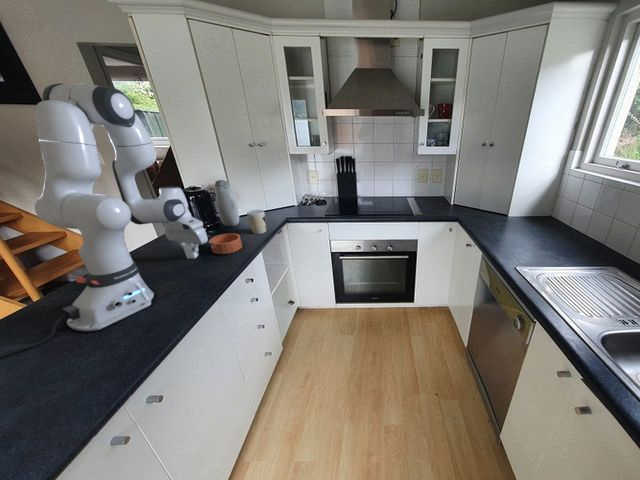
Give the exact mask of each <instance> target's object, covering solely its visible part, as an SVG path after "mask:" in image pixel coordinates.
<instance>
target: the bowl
mask: <svg viewBox="0 0 640 480" xmlns="http://www.w3.org/2000/svg"><path fill="white" fill-rule="evenodd" d="M208 242H209V246H210V249H211V252H212V253H213V254H217V255H227V254H228V255H229V254H232V253H236V252H238V251H239V250H241V249H242V248H243V241H242V238H241V235H240V234H238V233H232V232H231V233H229V232H228V233H221V234H218V235H215V236H212V237H211V238H210V239H208Z"/></svg>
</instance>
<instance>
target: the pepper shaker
mask: <svg viewBox="0 0 640 480" xmlns="http://www.w3.org/2000/svg"><path fill="white" fill-rule="evenodd" d="M184 244H185V246H184V247H183V248H184V250H183V251H184V254H185V256H186V259H188V260H190V259H192V260H193V259H196V258H198V256H199V251H197V252H195V251H193V249H192V248H194V245H193V244H192V243H186V242H184Z"/></svg>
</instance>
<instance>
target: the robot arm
mask: <svg viewBox="0 0 640 480" xmlns="http://www.w3.org/2000/svg"><path fill="white" fill-rule="evenodd" d="M41 96H42V97H41V98H42V101H40V102H37V104H36V106H35V112H34V113H35V114H34V115H35V116H34V117H35V129H36V136H37V139H38V144H39V148H40V153H41V157H42V161H43V165H44V171H45V173H44V174H45V175H44V185H43V191H42V194H41V195H40V197H39V198H38V199H37V200H36V201H35V203H34V212H35V214H36V216H37V217H38V218H39V219H40V220H41V221H43V222H44V223H47V224H49V225H52V226H55V227H59V228H63V229H70V230H71V229H73V230H78V231H79V232H80V234H81V238H82V244H81V245H80V247H79V248H78V251H77V252H78V255H79V257H80V259H81V261H82V262H83V265H85V268H86V270H87V272H88V273H87V275H86V276H77V277H76V278H75V282H76V283H77V284H78V283H79V284H86V287H85V288H84V290H83V291H82V292H81V293H80V294H79V295H78V297H77V298H76V299H75V300H74V302H72V304H70V305H68V306H65V307H63V308H61V310H62V312H63V313H64V314H62V315H61V316H60V317H59V318H57V319H56V320H55V321H54V322H53V323H52V325H51V326H50V332H49V334H48V335H47V336H46V337H45V338H43V339H41V340H38V341H36V342H33V343H30V344H27V345H23V346H20V347H18V348H15V349H12V350H10V351H7V352H4V353H1V354H0V359H2V358H6V357H8V356H10V355H13V354H17V353H18V352H21V351H25V350H27V349H31V348H34V347H37V346H39V345H41V344H42V343H45V342H47V341H49V340H51V339H52V338H53V337H54V336H55V334H56V330H57V329H56V328H57V326H58V325H59V324H60V323H61V322H62V321H63V320H65V319H66V318H68V319H67V320H66V324H67V326H68V327H69V328H70V329H72V330H75V331H78V332H79V331H80V332H94V331H95V332H96V331H100V330H102V329H104V328H107V327H108V326H110V325H112V324H114V323H117V322H119V321H120V320H123V319H125V318H127V317H129V316H130V315H133V314H135V313H138V312H140V311H141V310H143V309H146V308H148V307H150V306H151V305H152V300H153V298H154V295H155V293H154V292H153V291H152V290H151V289H150V288H149V286H148V285H147V283H146V282H145V280H144V279H143V277H142V276H141V272H140V269H139V267H138V265H137V263H136V262H135V260H133V258H132V256H131V254H130V251H129V249H128V246H127V244H126V240H125V229H126V227H127V226H128V225H129V223H130V222H132V223H133V224H135V225H148V224H163V225H164V233H165V238H166V239H167V240H168V241H170V242H171V241H173V242H177V244H178V245H179V246H180V247H181V249H182V250H183V251H184V248H183V247H184V246H185V244H184V242H186V243H192V244H193V245H194V248H192V249H193V251H195V252H197V251H198V252H199V245H201V246H202V245H204V244H206V243H207V242H209V239H208V235H207V231H206V229H205V227H203V226H204V222H203V221H202V220H200V219H197V218H196V217H194V216H192V213H191V212H190V209H189V203H188V200H187V197H186V195H185V193H184V191H183V189H182V188H181V187H179V186H161V187H159V189H158V193H159V196H158V197H157V198H147V199H145V198H142V197H141V196H140V193H139V188H138V187H137V186H138V185H137V182H136V174H137V173H140V172H142V171H143V170H146V169H148V168H149V167H152V166H153V165H154V164H155V162H156V161H157V157H158V155H157V154H158V153H157V150H156V148H155V145H154V143H153V140H152V139H151V135H150V134H149V131H148V130H147V128H146V126H145V125H144V123H143V121H142V120H141V118H140V116H139V115H138V114H137V113H136V109H135V107H134V104H133V102H132V100H131V99H130V98H129V97H128V96H127V95H126V94H125V92H123V91H122V90H121V89H118V88H115V87H112V86H108V85H95V84H89V83H88V84H86V83H82V82H81V83H80V82H72V83H62V82H60V83H53V84H49V85H47V86H46V87H45V88H44V89H43V92H42V95H41ZM94 126H101V127H103V128H104V130H106V133H107V135H108V138H109V140H110V142H111V145H112V147H113V149H114V153H115V158H114V159H113V160H112V162H111V167H112V173H113V176H114V179H115V183H116V185H117V188H118V192H119V194H120V198H121V199H120V198H117V197H113V196H111V195H107V194H101V193H94V186H95V183H96V181H97V180H98V178H100V177H101V176H102V172H103V170H102V169H103V168H102V165H101V160H100V156H99V150H98V147H97V141H96V139H95V138H96V137H95V135H94V131H93V130H94Z"/></svg>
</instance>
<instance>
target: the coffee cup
mask: <svg viewBox="0 0 640 480" xmlns="http://www.w3.org/2000/svg"><path fill="white" fill-rule="evenodd" d="M246 216H247V220H248V222H249V226H250V229H251V232H252V234H255V235H260V234H261V235H262V234H264V233H266V232H267V222H266V215H265V211H264V210H262V209H253V210H249V211H247V212H246Z"/></svg>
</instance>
